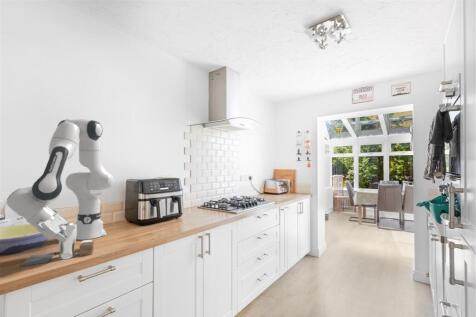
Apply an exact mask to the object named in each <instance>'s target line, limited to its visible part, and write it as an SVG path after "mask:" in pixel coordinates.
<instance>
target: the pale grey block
mask: <svg viewBox="0 0 476 317" xmlns="http://www.w3.org/2000/svg"><path fill="white" fill-rule="evenodd" d="M92 241H93V239H85V240H81V242H80V244H81V243H82V242H92ZM80 244H79V245H80Z"/></svg>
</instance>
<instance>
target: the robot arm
mask: <svg viewBox="0 0 476 317" xmlns="http://www.w3.org/2000/svg"><path fill="white" fill-rule="evenodd" d="M103 129H104V128H103V126H102V123H100V122H99V121H98V120H97V121H96V120H94V119H93V120H92V119H91V120H89V119H63V120H60V122H58V124H57V127H56V129H55V131H54V132H53V135H52V137H51V139H50V142H49V146H48V155H49V156H48V161H47V162H46V166H45V168H44V171H43V173H42V174H41V176H39V177H38V179H37V180H36V181H35V182H34V183H33V184H32V186H28V187H21V188H17V189H16V190H14V191H13V192H11V193H10V195H8V197H7V199H6V205H7V207H8V208H9V209H11V211H13V212H14V213H15V214H17V215H18V216H20V217H22V218H24V219H25V221H26V222H27V223H29V224H30V225H31V226H32V227H34V228H35V229H37V231H38V232H39V233H40V234H41V235H42V236H43V237H45V238H46V239H48V240H52V239H53V238H54V239H55V240H58V241H59V240H61V241H62V242H65V241H66V240H67V238H66V237H64V236H62V235H61V234H60V233H59V232H60V231H61V228H60V225H61V224H65V223H68V221H66V219H65V218H64V217H62V216H61V215H60V214H59V212H58V211H57V210H56V209H52V208H50V207H49V206H47V205H49V204H51V203H53V202H55V201H56V200H58V198H59V196H60V194H61V192H62V190H63V185H62V184H63V183H62V180H61V179H62V178H61V176H62V174H63V170H64V167H65V165H66V162H67V161H68V160H69V159H71V158H72V157H73V156H74V154H75V152H76V150H77V147H78V162H79V163H80V165H81V166H83V167H85V168H86V169H88V170H89V172H80V171H79V172H73V173H70V174H68V175H67V177H65V178H66V179H65V186H66V187H67V189H68V190H70V191H71V192H72V193H74V195H75V196H76V198H77V202H78V213H77V216H76V217H77V218H76V219H77V221H76V222H75V223H77V237H76V241H77V240H78V241H79V240H81V241H83V240H93V239H97V238H99V237H103V236H106V235H107V232H106V229H104V225H103V224H104V221H102V220H101V217H102V214H101V200H100V198H98V196H96V195H93V194H92V193H91V191H105V190H110V189H111V188H112V187H113V186H114V184H115V178H114V176H113V174H112V173H110V172H108V170H106V168H105V167H104V166H103V162H102V156H101V154H102V153H101V144H100V143H101V142H100V137H101V136H102V135H103Z"/></svg>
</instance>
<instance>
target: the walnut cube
mask: <svg viewBox="0 0 476 317" xmlns="http://www.w3.org/2000/svg"><path fill="white" fill-rule="evenodd" d="M81 242H82V241H81ZM81 242H80V243H81ZM94 244H95V243H94V241H93V240H92V242H82V243H81V244H79V253H78V256H79V257H82V256H91V255H93V253H94V251H95V250H94V248H95V246H94Z"/></svg>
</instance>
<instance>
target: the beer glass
mask: <svg viewBox="0 0 476 317" xmlns="http://www.w3.org/2000/svg"><path fill="white" fill-rule="evenodd" d="M60 228H61V231H60V232H59V233H60V234H61V235H62V236H64V237H66V238H67V240H66V241H65V242H62V241H61V240H58V244H59V255H58V259H59V260H68V259H71V258H74V257H75V256H76V252H75V245H76V241H77V239H76V237H77V223H76V222H67V223H65V224H61V225H60Z"/></svg>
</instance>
